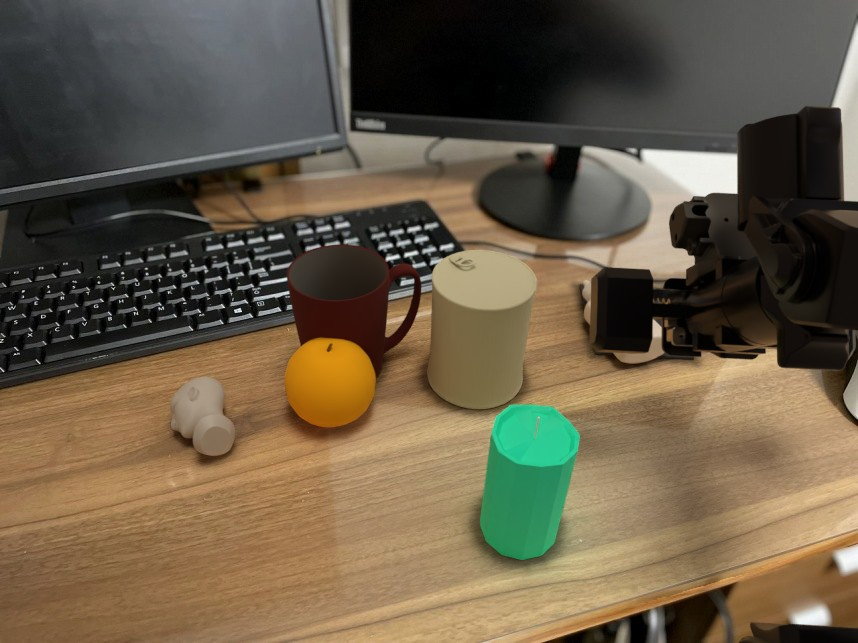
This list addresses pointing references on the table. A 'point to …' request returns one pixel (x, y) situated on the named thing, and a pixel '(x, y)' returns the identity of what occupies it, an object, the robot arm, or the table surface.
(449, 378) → the can
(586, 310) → the eye dropper bottle
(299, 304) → the mug
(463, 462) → the table surface
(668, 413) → the table surface
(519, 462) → the candle
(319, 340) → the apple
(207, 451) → the pale two-lobed sculpture
